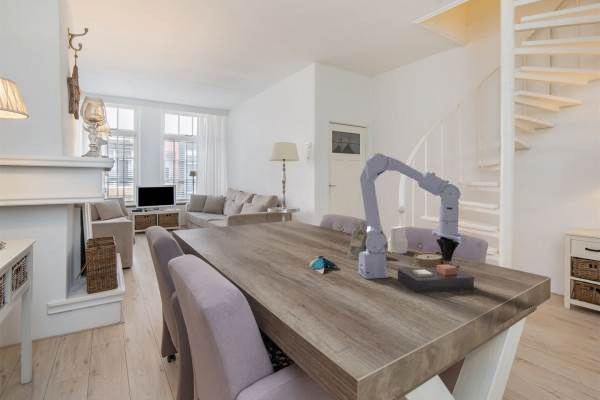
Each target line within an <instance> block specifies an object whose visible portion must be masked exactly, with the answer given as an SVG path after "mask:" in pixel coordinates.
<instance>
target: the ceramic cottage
mask: <svg viewBox="0 0 600 400" xmlns="http://www.w3.org/2000/svg"><path fill="white" fill-rule="evenodd" d="M357 231H358V230H357V229H355V228H353V229H352V233H351V240H350V243H349V248H348V250H347V253H346V258H347V259H352V260H358V261H359V254H360V252H364V251H366V249H367V247H366V244H365V243H366V239H367V227H365V226H364V223H360V225H359V231H358V232H357ZM387 244H388V243H386V244H385V245H384V248H385V249H386V250H387V249H388V245H387ZM387 258H388V256H387V253H386V259H387Z"/></svg>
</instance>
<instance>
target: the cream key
mask: <svg viewBox="0 0 600 400" xmlns="http://www.w3.org/2000/svg"><path fill="white" fill-rule="evenodd" d="M413 273H414V274H416V275H418V276H419V277H423V276H432V274H433V273H431V272H429V271H427V270H425V269H424V270H413Z"/></svg>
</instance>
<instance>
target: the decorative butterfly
mask: <svg viewBox="0 0 600 400" xmlns="http://www.w3.org/2000/svg"><path fill="white" fill-rule="evenodd" d="M329 256H331V255H329ZM325 267H329V268H333V269H338V270H341V268H340V267H339V265H337V264H336V263H335V262H332V261H330V260H329V259H327V258H325V256H324V255H317V256H315V259H314V260H312V261H310V263H309V268H310V269H312V270H314V271H316V272H318V273H320V274H321V275H322V274H324V271H325Z"/></svg>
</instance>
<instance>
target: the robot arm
mask: <svg viewBox="0 0 600 400" xmlns="http://www.w3.org/2000/svg"><path fill="white" fill-rule="evenodd" d="M386 171H391V172H392V171H395V172H398V173H400V174H403V175H404V176H407V177H408V178H410V179H412V180H414V181H416V182H417V184H418V187H419V188H421V189H423V190H424V191H427V192H428V193H430V194H432V195H433V196H435V197H436V196H439V198H440V205H439V214H438V215H439V218H438V219H439V220H438V229H432V230H431V236H433V237H435V236H436V237H439V238H436V243H437V245H438V247H439V249H440V252H441V253H442V257H443V260H444V261H451V259H452V260H453V257H454V253H455V251H456V249H457V248H458V246H459V245H460V244H461V245H463V244H464V245H465V244H467V237H466V236H463V235H461V233H460V232H458V231H459V209H460V208H459V204H460V203H459V199H460V198H461V194H462V193H461V191H460V189H459V187H458V186H456V185H454V184H452V183H450V181H449V180H447V179H445V180H444V179H442V178H440V177H439V176H437V175H436V173H435V172H429V171H428V172H423V173H422V172H421V171H418V170H417V169H415V168H413V167H411V166H410V165H408V164H406V163H404V162H402V161H401V160H398V159H396V158H393V157H390V156H387V155H384V154H383V153H380V152H379V153H377V152H376V153H373V154H372V155H371V156H370V157H369V158H368V159H367V160H366V162H365V166H364V168H363V170H362V173H361V175H360V177H359V182H360V188H361V193H362V194H361V196H362V201H363V208H364V215H365V220H366V230H367V239H366V243H365V244H366V247H367V249H366V251H364V252H360V254H359V260H358V269H357V273H358V274H359V275H360V276H362V277H363V278H364V279H368V280H369V279H383V278H385V279H386V278H391V275H389V274H388V273H387V270H386V269H387V258H386V254H387V248H386V249H385V248H384V245H385V244H387V236H386V234H385V232H384V231H383V226H382V225H381V224H382V223H381V217H380V211H379V205H378V198H377V192H376V186H375V182H376V180H377V179H378V178H379V176H380V175H382V174H383V173H385V172H386ZM451 262H452V261H451Z"/></svg>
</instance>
